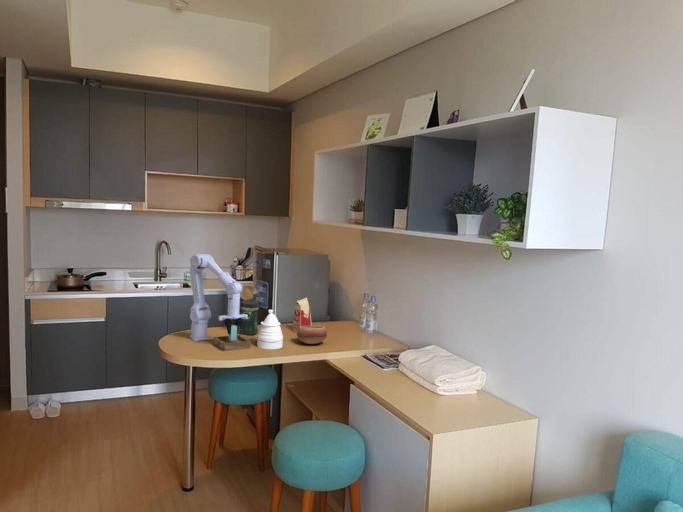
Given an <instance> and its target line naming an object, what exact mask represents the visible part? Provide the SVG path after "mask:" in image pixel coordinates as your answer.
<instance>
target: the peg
mask: <svg viewBox="0 0 683 512" xmlns="http://www.w3.org/2000/svg"><path fill="white" fill-rule="evenodd" d="M237 335H238V333H237V326H236V325H235V324H231V334H228V336H229V338H228V339H229V340H236V339H237Z"/></svg>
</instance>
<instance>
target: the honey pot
mask: <svg viewBox="0 0 683 512" xmlns="http://www.w3.org/2000/svg"><path fill="white" fill-rule="evenodd" d="M267 311H268V314H267V316H266V317H265V318H264V321H261V322H260V326H261V327H260V328H259V330H258V331H259V332H258V333H257V334H258V335H257V343H256V346H257V348H259V349H264V350H277V349H281V348H283V346H284V345H283V344H284V335H283V331H282V329H281V322H279V320H278V317H277V316H276V314H274V313H273V312H274V310H273V309H268V310H267Z"/></svg>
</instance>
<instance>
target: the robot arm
mask: <svg viewBox="0 0 683 512" xmlns="http://www.w3.org/2000/svg"><path fill="white" fill-rule="evenodd" d="M214 259H215V258H214V257H213V256H212V255H211V254H210V253H195V254H192V256H191V257H190V258H189V261H190V262H189V265H190V267H189V272H190V279H191V281H190V282H191V288H192V289H191V290H192V296H193V297H192V298H193V305H192V306H191V307H190V314H189V317H190V321H191V326H190V327H191V328H190V335H188V337H189V339H191V340H193V341H194V342H197V341H198V342H199V341H209V340H210V338H209V337H208V323H209V320H210V318H211V317H212V312H211V309H210V305H209V304H207V303H206V298H205V292H204V284H203V283H204V282H203V275H202V273H203V271H204V270H205V269H207V268H208V269H209V270H210V271H211V272H212V273H213V274H215V276H217V277H218V278H217V280H218V282H220V283H221V284H222V286H223V287H224V288H225V291H226V294H227V314H224V315H218V321H223V322H224V324H225V327H226V332H227V334H228V335H229V334H231V325H233V324H232V323H233V321H232V320H234V325H236V326H237V334H238V333H239V330H240V325H241V323H242V321H243V320H242V319H248V315H247V314H241V313H240V306H241V293H242V292H243V289H244V286H243V285H242V283H241V282H240V281H236V279H234V278H233V277H232V276H231V275H230V273H229V272H227V271H224V270H222V269H221V267H220V266H219V265H218V264H217V262H216V261H215V260H214Z"/></svg>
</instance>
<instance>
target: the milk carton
mask: <svg viewBox="0 0 683 512" xmlns="http://www.w3.org/2000/svg"><path fill="white" fill-rule="evenodd" d="M300 326H312V315H311V308H310V305H309V301H308V297H305V298H302V299H298V300H296V303H295V308H294V313H293V319H292V331H293V332H294V333H295V334H297V331H298V328H299V327H300Z"/></svg>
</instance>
